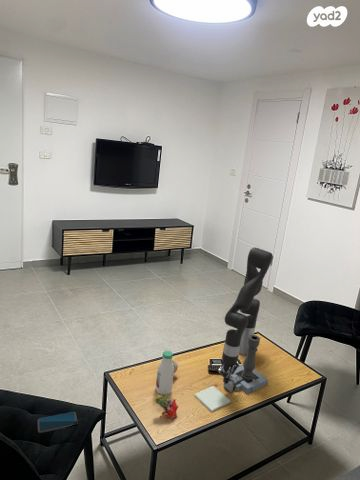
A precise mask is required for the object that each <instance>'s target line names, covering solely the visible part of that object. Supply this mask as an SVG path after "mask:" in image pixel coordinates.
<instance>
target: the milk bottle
mask: <svg viewBox="0 0 360 480" xmlns="http://www.w3.org/2000/svg"><path fill="white" fill-rule="evenodd" d="M172 360H173V352H172V351H171V350H164V351H163V352H162V358H161V361H160V362H159V365H158V366H157V374H156V381H155V391H156V392H157V393H158V394H159V395H162V396H164V395H165V396H166V395H168V394H170V393H171V392H172V390H173V381H174V374H175V373H174V366H173V363H172Z"/></svg>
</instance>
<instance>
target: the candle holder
mask: <svg viewBox="0 0 360 480" xmlns="http://www.w3.org/2000/svg"><path fill="white" fill-rule="evenodd" d="M260 342H261V337H260V336H259V335H257V334H254V335H249V337H248V345H249V346H248V347H247V350H248V353H247V355H245V356H246V357H245V358H244V360H243V364H242V365H243V366H244V370H243V371H242V373H241V375H240V376H241V377H242V378H243V380H242V381H245V382H246V383H250V382H252V381H254V379H253V372H252V371H253V370H254V369H256V353H257V352H258V347H259V346H260Z"/></svg>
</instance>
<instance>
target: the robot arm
mask: <svg viewBox="0 0 360 480" xmlns="http://www.w3.org/2000/svg"><path fill="white" fill-rule="evenodd" d="M273 256H274V255H273V253H272V252H271V251H267V250H264V249H261V248H258V247H252V248H250V250H249V252H248V256H247V260H246V261H247V262H246V273H245V277H244V281H243V282H244V283H243V285H242V287H241V288H240V290H239V292H238V294H237V297H236V300H235V301H234V304H232V305H231V307H230V309H229V310H228V311H227V312H226V314H225V316H224V322H225V325H227V326H230V327H232V328H234V329H232V328H231V329H228V330H227V331H226V334H225V340H224V344H223V348H222V355H221V360H222V363H221V367H219V368H217V372H218V373H219V374H220V376H221V377H223V379H222V382H223V384H224V383H225V384H227V383H229V379H230V376H231V374H232V375H233V374H234V372H235V371H236V369H237V367H239V366H240V363H238V362H239V355H242V356H247V353H248V350H247V347H248V346H249V345H248V337H249V335H255V331H256V324H257V319H258V315H259V311H260V306H261V302H260V300H259V299H256V298H255V297H256V296H257V295H258V294H260V293H261V290H262V287H263V281H264V278H265V277H266V275H267V273H268V271H269V270H270V269H269V268H270V266H271V264H272V262H273ZM258 269H259V270H258ZM239 311H240V312H239ZM245 314H246V315H245ZM233 369H234V370H233Z"/></svg>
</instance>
